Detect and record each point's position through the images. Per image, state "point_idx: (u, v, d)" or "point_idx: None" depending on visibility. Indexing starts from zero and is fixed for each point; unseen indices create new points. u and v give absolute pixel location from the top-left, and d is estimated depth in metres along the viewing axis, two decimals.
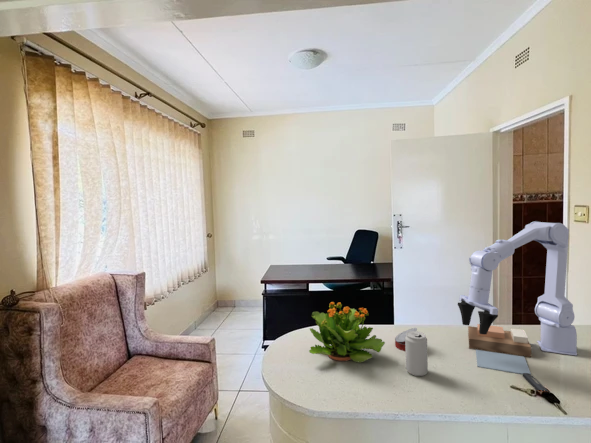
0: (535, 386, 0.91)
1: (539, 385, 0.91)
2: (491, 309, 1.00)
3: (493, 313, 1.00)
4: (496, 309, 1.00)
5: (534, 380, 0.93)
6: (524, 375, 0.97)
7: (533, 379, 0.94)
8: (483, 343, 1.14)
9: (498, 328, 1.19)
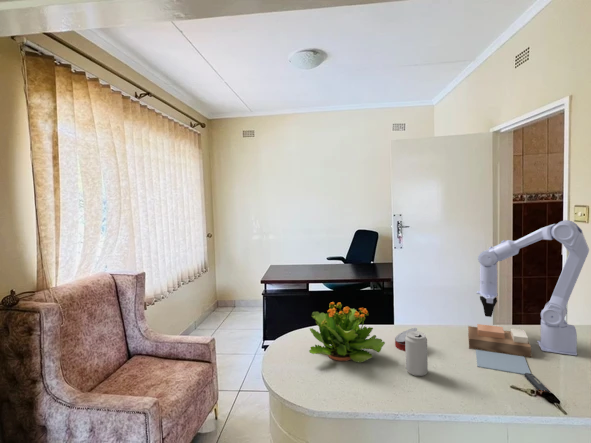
0: (536, 386, 0.91)
1: (540, 385, 0.91)
2: (486, 298, 1.21)
3: (488, 302, 1.20)
4: (490, 298, 1.20)
5: (535, 380, 0.93)
6: (525, 375, 0.97)
7: (534, 379, 0.94)
8: (483, 343, 1.14)
9: (498, 328, 1.19)
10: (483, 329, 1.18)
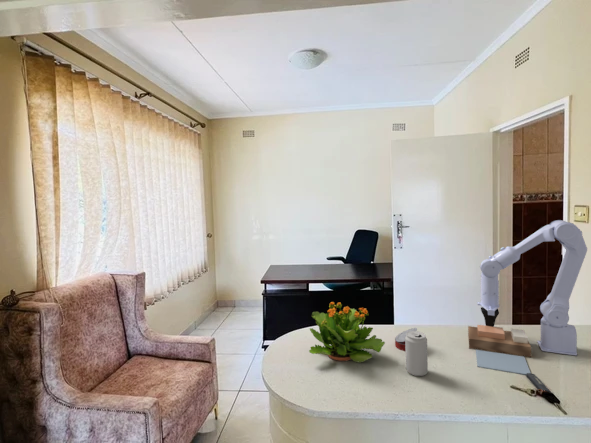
0: (537, 386, 0.91)
1: (541, 385, 0.91)
2: (487, 310, 1.16)
3: (489, 314, 1.15)
4: (492, 310, 1.15)
5: (537, 380, 0.93)
6: (527, 375, 0.97)
7: (536, 379, 0.94)
8: (483, 343, 1.14)
9: (498, 329, 1.18)
10: (483, 330, 1.18)
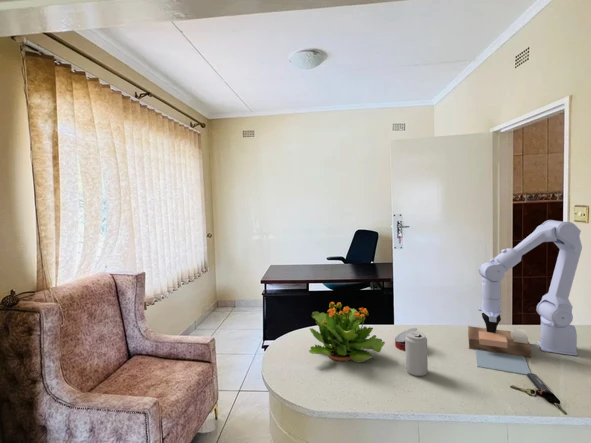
0: (538, 386, 0.91)
1: (542, 385, 0.91)
2: (489, 316, 1.10)
3: (490, 320, 1.09)
4: (494, 317, 1.09)
5: (538, 380, 0.93)
6: (528, 375, 0.96)
7: (537, 379, 0.94)
8: None
9: (500, 336, 1.12)
10: (485, 337, 1.12)
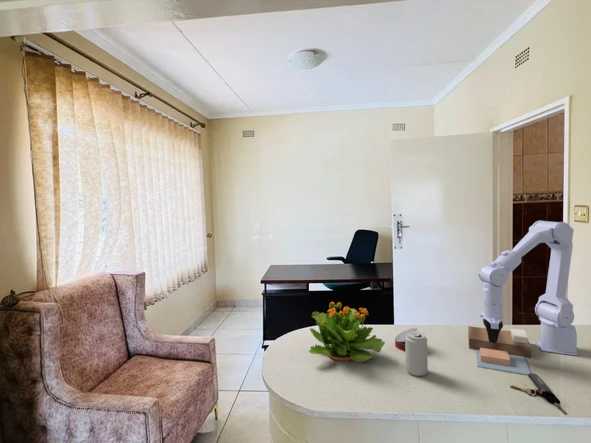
0: (538, 386, 0.91)
1: (543, 385, 0.91)
2: (490, 323, 1.04)
3: (492, 327, 1.04)
4: (496, 323, 1.03)
5: (539, 380, 0.93)
6: (529, 375, 0.96)
7: (538, 379, 0.94)
8: (483, 343, 1.14)
9: None
10: None
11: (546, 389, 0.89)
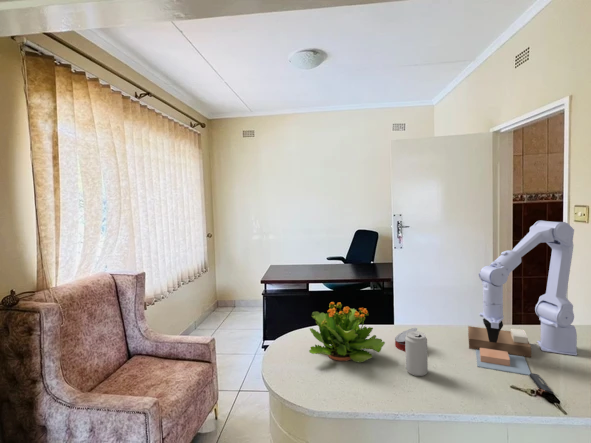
0: (539, 386, 0.91)
1: (543, 385, 0.91)
2: (491, 323, 1.05)
3: (492, 327, 1.04)
4: (496, 323, 1.04)
5: (540, 380, 0.93)
6: (530, 375, 0.96)
7: (539, 379, 0.94)
8: (483, 343, 1.14)
9: None
10: None
11: (547, 389, 0.89)
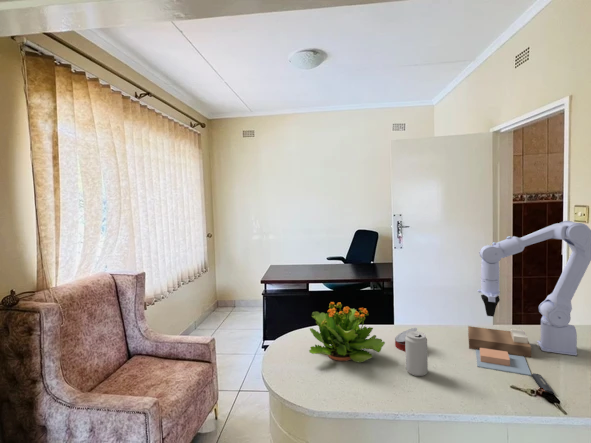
0: (540, 386, 0.91)
1: (545, 385, 0.91)
2: (488, 297, 1.13)
3: (489, 300, 1.13)
4: (493, 297, 1.12)
5: (541, 380, 0.93)
6: (533, 375, 0.96)
7: (541, 379, 0.93)
8: (483, 343, 1.14)
9: None
10: None
11: (548, 389, 0.89)
